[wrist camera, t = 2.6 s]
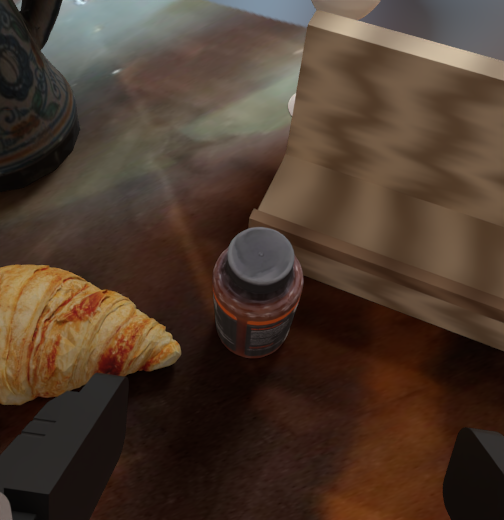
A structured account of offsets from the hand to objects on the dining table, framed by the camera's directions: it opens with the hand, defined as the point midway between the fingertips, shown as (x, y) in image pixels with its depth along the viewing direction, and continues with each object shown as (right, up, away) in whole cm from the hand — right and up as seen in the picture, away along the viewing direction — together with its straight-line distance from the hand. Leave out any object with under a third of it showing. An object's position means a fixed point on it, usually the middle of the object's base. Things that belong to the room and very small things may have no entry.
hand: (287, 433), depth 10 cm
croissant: (-17, -3, +23) cm, 28 cm away
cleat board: (+12, +5, +28) cm, 31 cm away
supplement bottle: (-1, -1, +24) cm, 24 cm away
